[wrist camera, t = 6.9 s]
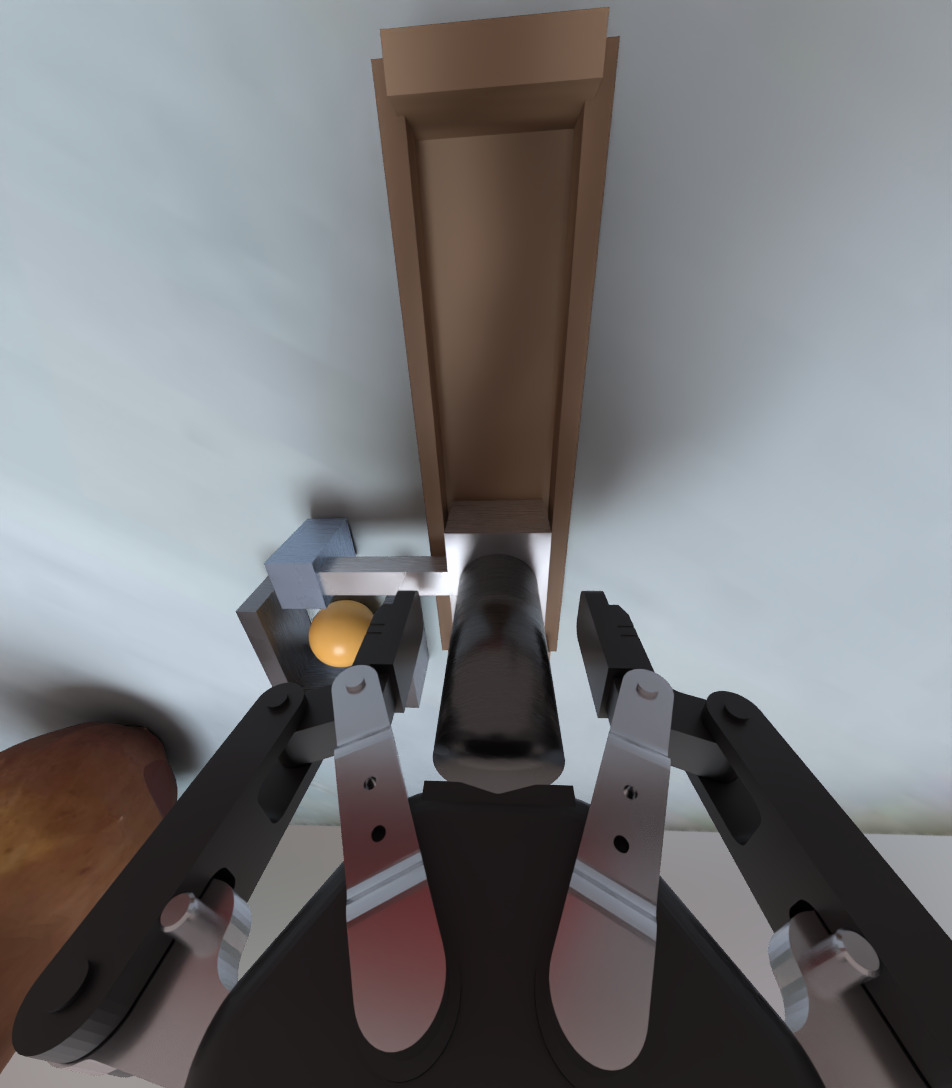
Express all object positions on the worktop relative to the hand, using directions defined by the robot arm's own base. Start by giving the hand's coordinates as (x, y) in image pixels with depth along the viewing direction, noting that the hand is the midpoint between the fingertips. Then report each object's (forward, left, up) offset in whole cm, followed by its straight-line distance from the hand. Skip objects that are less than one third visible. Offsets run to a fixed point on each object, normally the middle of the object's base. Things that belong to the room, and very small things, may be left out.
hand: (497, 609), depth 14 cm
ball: (+8, +7, -4) cm, 12 cm away
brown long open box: (0, -5, -6) cm, 7 cm away
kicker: (+4, 0, -5) cm, 6 cm away
